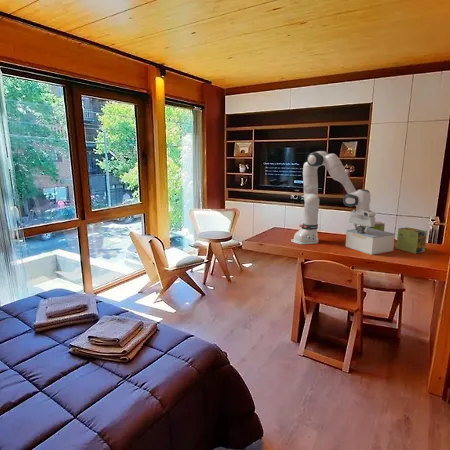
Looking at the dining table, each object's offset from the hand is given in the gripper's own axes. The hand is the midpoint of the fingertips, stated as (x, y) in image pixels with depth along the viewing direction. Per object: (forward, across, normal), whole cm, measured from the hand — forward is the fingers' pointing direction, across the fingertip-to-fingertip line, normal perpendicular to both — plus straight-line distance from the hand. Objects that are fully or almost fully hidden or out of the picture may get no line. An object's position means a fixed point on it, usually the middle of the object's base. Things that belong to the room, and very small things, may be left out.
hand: (360, 230), depth 234 cm
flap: (+3, 0, +10) cm, 10 cm away
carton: (+15, 0, +10) cm, 17 cm away
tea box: (+15, -18, +34) cm, 41 cm away
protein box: (+15, +16, +34) cm, 40 cm away
